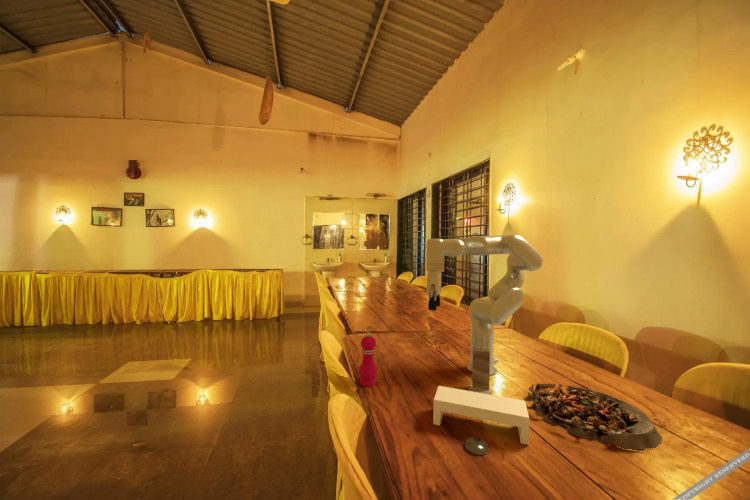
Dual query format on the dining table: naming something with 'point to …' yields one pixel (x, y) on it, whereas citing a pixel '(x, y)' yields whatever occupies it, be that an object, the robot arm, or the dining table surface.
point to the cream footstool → (482, 408)
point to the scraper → (481, 371)
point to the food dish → (595, 416)
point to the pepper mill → (368, 361)
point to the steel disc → (476, 446)
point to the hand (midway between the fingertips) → (434, 308)
